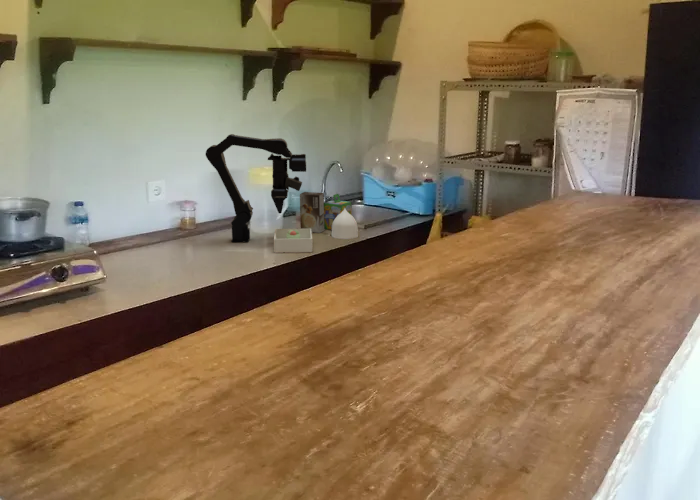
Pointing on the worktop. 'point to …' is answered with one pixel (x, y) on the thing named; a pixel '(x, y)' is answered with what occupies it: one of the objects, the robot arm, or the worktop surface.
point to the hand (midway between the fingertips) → (280, 211)
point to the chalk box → (334, 210)
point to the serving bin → (292, 241)
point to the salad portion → (293, 234)
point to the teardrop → (344, 226)
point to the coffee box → (312, 211)
